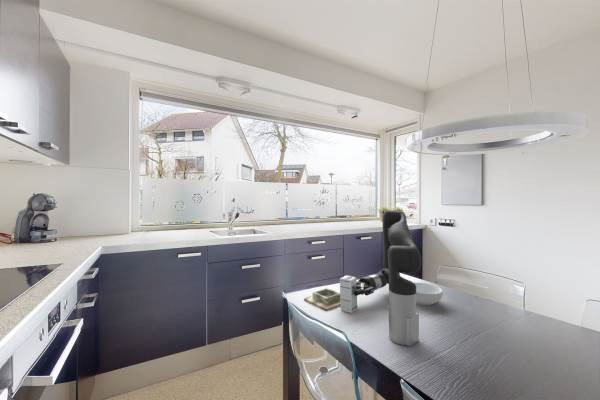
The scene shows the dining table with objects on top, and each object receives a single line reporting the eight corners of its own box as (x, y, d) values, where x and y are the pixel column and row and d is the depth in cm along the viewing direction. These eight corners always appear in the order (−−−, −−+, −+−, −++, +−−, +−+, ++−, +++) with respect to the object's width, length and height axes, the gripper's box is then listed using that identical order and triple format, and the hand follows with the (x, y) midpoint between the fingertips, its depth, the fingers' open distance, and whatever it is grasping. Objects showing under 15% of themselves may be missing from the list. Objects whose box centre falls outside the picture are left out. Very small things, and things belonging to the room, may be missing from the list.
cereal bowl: (451, 307, 122) (451, 291, 122) (420, 311, 118) (419, 295, 118) (425, 294, 138) (425, 280, 138) (397, 297, 134) (397, 283, 134)
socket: (350, 301, 129) (350, 293, 129) (326, 310, 119) (326, 302, 119) (327, 292, 141) (327, 285, 141) (304, 300, 132) (304, 292, 132)
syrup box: (351, 313, 116) (351, 280, 116) (339, 309, 120) (339, 277, 120) (357, 308, 121) (357, 277, 121) (345, 305, 125) (345, 274, 124)
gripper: (358, 272, 136) (336, 278, 126) (382, 279, 124) (360, 286, 114) (358, 287, 136) (336, 294, 126) (382, 295, 124) (360, 304, 114)
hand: (347, 290), depth 120 cm, fingers open, 8 cm apart
